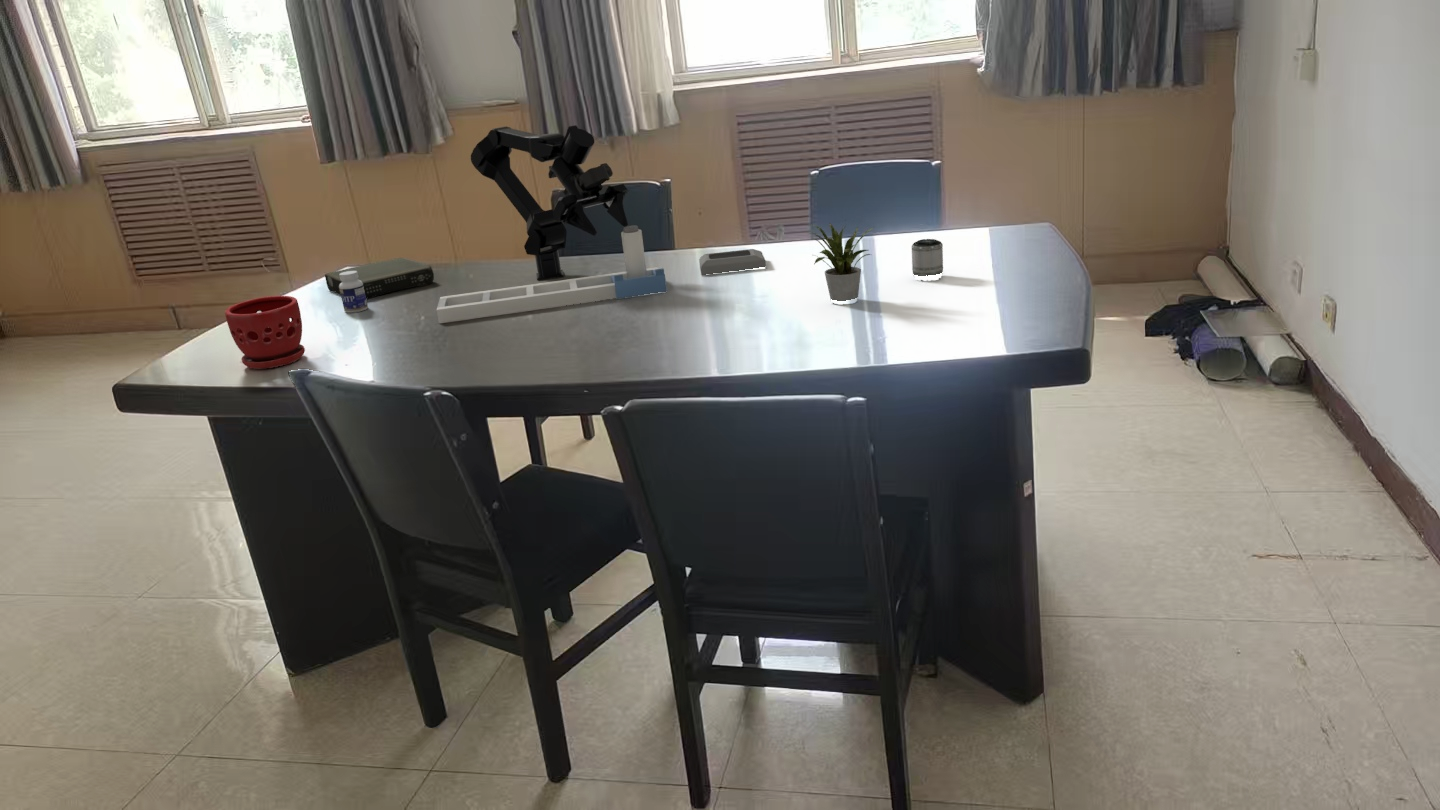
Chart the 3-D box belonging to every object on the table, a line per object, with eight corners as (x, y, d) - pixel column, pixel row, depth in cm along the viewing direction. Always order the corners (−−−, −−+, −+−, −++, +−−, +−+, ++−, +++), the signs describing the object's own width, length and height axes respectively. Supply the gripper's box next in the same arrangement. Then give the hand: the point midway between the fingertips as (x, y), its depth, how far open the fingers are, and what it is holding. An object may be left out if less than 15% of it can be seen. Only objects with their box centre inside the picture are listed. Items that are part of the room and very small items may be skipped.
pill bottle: (339, 313, 232) (331, 275, 229) (355, 306, 237) (346, 269, 234) (358, 313, 230) (349, 275, 227) (373, 307, 235) (364, 269, 232)
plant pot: (225, 372, 195) (208, 312, 191) (275, 351, 206) (260, 294, 202) (277, 374, 190) (261, 313, 186) (325, 352, 201) (311, 294, 197)
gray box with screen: (765, 255, 231) (699, 262, 231) (766, 270, 232) (701, 277, 232) (761, 246, 240) (698, 253, 240) (762, 261, 241) (700, 268, 241)
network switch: (402, 273, 271) (398, 255, 269) (447, 282, 255) (443, 262, 253) (318, 294, 256) (313, 275, 254) (360, 305, 240) (356, 284, 238)
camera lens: (920, 273, 214) (919, 237, 211) (948, 275, 211) (947, 238, 208) (907, 281, 210) (906, 243, 207) (935, 282, 206) (934, 244, 203)
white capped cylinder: (626, 292, 224) (618, 229, 219) (631, 287, 228) (622, 225, 224) (646, 290, 224) (638, 228, 219) (650, 285, 228) (642, 224, 223)
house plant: (787, 306, 200) (781, 224, 194) (829, 289, 209) (824, 210, 203) (846, 314, 190) (841, 228, 185) (887, 296, 199) (884, 214, 194)
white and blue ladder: (443, 309, 225) (438, 287, 224) (659, 279, 232) (656, 257, 231) (438, 324, 213) (434, 300, 212) (667, 292, 220) (664, 269, 218)
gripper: (552, 160, 217) (592, 214, 214) (617, 147, 230) (656, 198, 226) (536, 195, 225) (574, 247, 222) (599, 181, 238) (636, 230, 234)
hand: (611, 230), depth 226 cm, fingers open, 9 cm apart
